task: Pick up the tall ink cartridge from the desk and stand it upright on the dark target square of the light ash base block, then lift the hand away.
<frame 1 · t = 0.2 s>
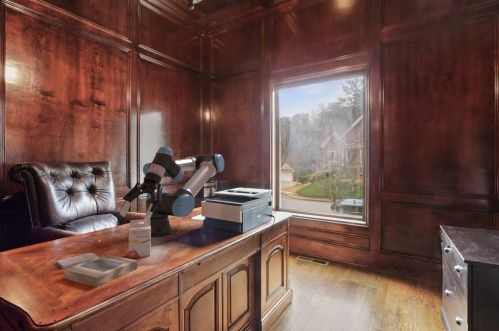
hand: (134, 217, 114), 16 cm above the table, tool tilted 35°, fingers open, 13 cm apart
ink cartridge box: (139, 255, 112), on the table
external hard drive: (78, 263, 105), on the table
ash base block: (102, 273, 93), on the table
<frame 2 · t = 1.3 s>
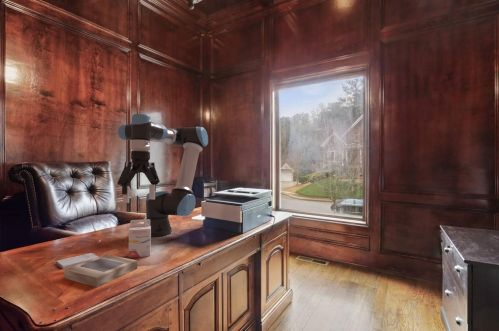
hand: (139, 200, 112), 23 cm above the table, tool pointing down, fingers open, 13 cm apart
nothing on the table moved.
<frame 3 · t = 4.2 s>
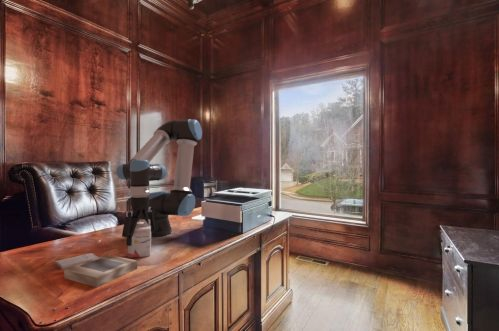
hand: (139, 249, 112), 2 cm above the table, tool pointing down, fingers closed on ink cartridge box, 9 cm apart
ink cartridge box: (139, 255, 112), on the table, touching gripper
everything else where it was.
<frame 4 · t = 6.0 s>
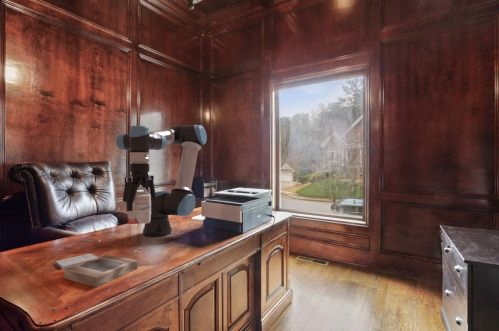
hand: (140, 216, 112), 16 cm above the table, tool pointing down, fingers closed on ink cartridge box, 8 cm apart
ink cartridge box: (139, 223, 112), point 14 cm above the table, touching gripper
everything else where it was.
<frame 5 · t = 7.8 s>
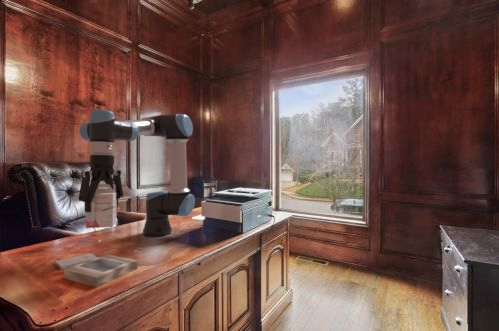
hand: (102, 218, 93), 19 cm above the table, tool pointing down, fingers closed on ink cartridge box, 8 cm apart
ink cartridge box: (101, 226, 93), point 16 cm above the table, touching gripper
everything else where it was.
when the fingers open (6 cm above the table, at t = 10.8 s): ink cartridge box stays where it is, resting on ash base block.
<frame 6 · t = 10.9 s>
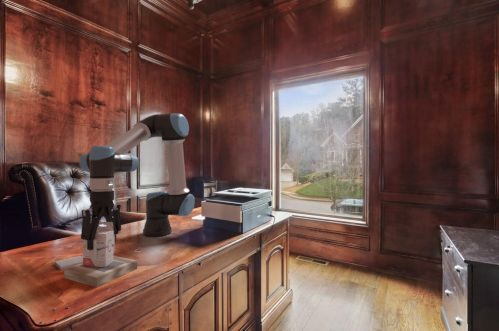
hand: (102, 255, 93), 6 cm above the table, tool pointing down, fingers open, 6 cm apart
ink cartridge box: (98, 264, 94), point 3 cm above the table, touching ash base block
everything else where it was.
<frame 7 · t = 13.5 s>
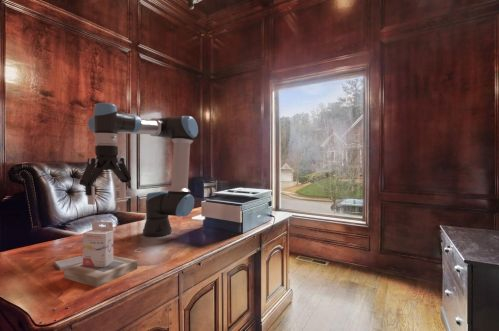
hand: (108, 201, 100), 24 cm above the table, tool pointing down, fingers open, 13 cm apart
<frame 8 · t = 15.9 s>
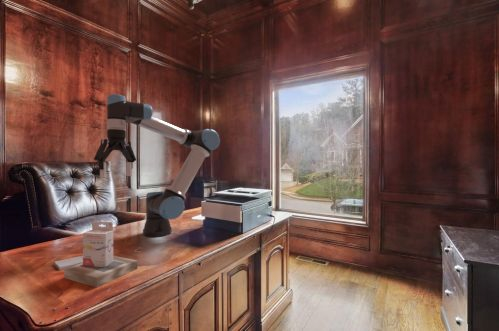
hand: (116, 176, 119), 33 cm above the table, tool pointing down, fingers open, 13 cm apart
at the end: ink cartridge box 1.6 cm off-centre on the ash base block, point 2.9 cm above the ash base block's base; ink cartridge box tilted 0°; the gripper is holding nothing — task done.
